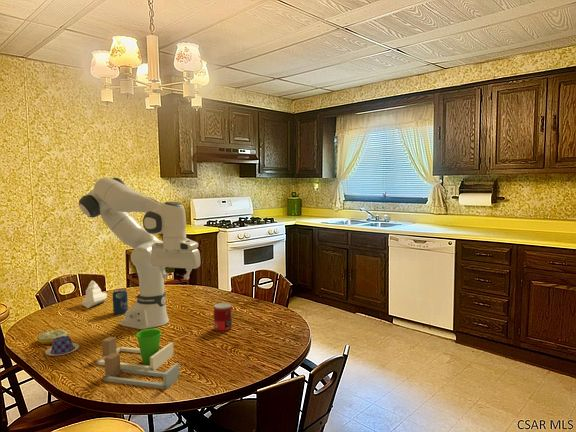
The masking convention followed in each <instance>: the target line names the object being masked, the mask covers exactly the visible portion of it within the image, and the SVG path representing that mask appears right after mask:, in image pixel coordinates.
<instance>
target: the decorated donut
mask: <svg viewBox="0 0 576 432" xmlns="http://www.w3.org/2000/svg"><path fill="white" fill-rule="evenodd" d="M62 336H68V332H67V330H65V329H61V328H59V329H53V330H52V329H51V330H48V331H44V332H42V333H40V334H38V336H37V341H38V343H40V344H41V345H44V344H48V345H53V341H54V339H55V338H58V337H62Z"/></svg>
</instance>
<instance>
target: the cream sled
mask: <svg viewBox="0 0 576 432" xmlns="http://www.w3.org/2000/svg"><path fill="white" fill-rule="evenodd" d="M101 346H102V347H101V348H102V357H100V358H99V359H97V360H95V365H98V366H105V361H104V358H105V357H107V356H108V355H110V354H112V353H116V354H119V353H121V352H126V353H135V354H141V352H140V348H137V347H136V348H135V347H127V346H118V347H117V338H116V337H115V336H114V337H113V336H108V337H106V338H104V339H102V340H101ZM173 356H174V342H169V343H168V344H166V345H165V346H164V347H161V349H159V351H158V352H157V353H155V354H154V355H152V356H151V357H150V365H146V364H137V363H127V362H121V361H120V367H126V368H134V369H142V370H150V371H157V369H158V368H160V367H161V366H162V365H163V364H164V363H166V362H167V361H169V360H170V359H171V358H172V357H173Z"/></svg>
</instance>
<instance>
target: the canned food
mask: <svg viewBox="0 0 576 432" xmlns="http://www.w3.org/2000/svg"><path fill="white" fill-rule="evenodd" d="M232 309H233V308H232V304H231V303H229V302H218V303H216V304H214V305H213V320H214V321H213V323H214V324H213V325H214V326H213V327H214V330H215V331H217V332H229V331H231V330H232V327H233V320H232V319H233V315H232V313H233V312H232V311H233V310H232Z"/></svg>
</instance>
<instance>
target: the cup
mask: <svg viewBox="0 0 576 432" xmlns="http://www.w3.org/2000/svg"><path fill="white" fill-rule="evenodd" d="M162 332H163V331H162V330H161V329H159V328H147V329H141V330H140V331H138V332H137V333H136V335H135V337H136V338H137V342H138V347H139V349H140V352H141V353H140V356H141V360H142V363H143V365H146V366H150V357H151V356H152V355H154V354H155V353H157V352H158V351H159V350H160V343H161V335H162Z"/></svg>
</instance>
